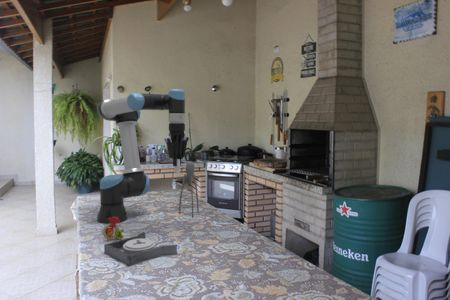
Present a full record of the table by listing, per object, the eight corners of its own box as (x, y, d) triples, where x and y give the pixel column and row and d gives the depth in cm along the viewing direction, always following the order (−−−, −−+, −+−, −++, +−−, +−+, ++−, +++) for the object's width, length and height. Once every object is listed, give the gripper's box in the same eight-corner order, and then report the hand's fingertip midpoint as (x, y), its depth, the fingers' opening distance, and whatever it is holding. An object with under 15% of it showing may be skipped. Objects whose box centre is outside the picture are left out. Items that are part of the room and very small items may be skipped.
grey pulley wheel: (141, 245, 162) (141, 234, 162) (161, 252, 154) (161, 240, 154) (116, 254, 152) (116, 242, 152) (137, 261, 144) (136, 249, 144)
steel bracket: (101, 251, 155) (100, 242, 154) (144, 239, 169) (144, 231, 169) (133, 268, 138) (133, 258, 137) (178, 253, 152) (177, 245, 152)
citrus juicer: (193, 217, 205) (193, 162, 202) (175, 216, 207) (175, 162, 204) (198, 212, 216) (198, 160, 213) (182, 211, 218) (181, 159, 215)
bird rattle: (110, 247, 165) (129, 236, 169) (99, 226, 162) (118, 215, 165) (107, 243, 170) (125, 232, 174) (96, 222, 167) (115, 212, 171)
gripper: (170, 123, 169) (170, 175, 171) (192, 122, 178) (192, 172, 181) (160, 122, 174) (161, 173, 177) (182, 122, 184) (182, 170, 186)
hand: (177, 172), depth 179 cm, fingers closed
